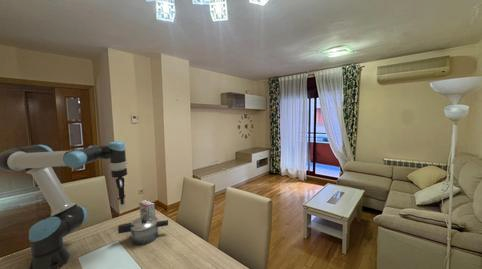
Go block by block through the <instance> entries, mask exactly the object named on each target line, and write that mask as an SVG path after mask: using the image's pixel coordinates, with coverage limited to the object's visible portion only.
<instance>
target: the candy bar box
mask: <svg viewBox="0 0 482 269" xmlns="http://www.w3.org/2000/svg"><path fill="white" fill-rule="evenodd" d="M138 204H139V214H140V218H141V217H144V216H155V217H156V209H155V208H156V207H155V206H156V205H155V203H154V202H151V201H149V200H146V199H143V200H141V201H139V202H138Z"/></svg>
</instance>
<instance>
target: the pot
mask: <svg viewBox="0 0 482 269" xmlns="http://www.w3.org/2000/svg"><path fill="white" fill-rule="evenodd" d="M166 226H169V220H167V219H166V220H161V221H159V220H158V222H157V224H156V225H155V226H154V227H152V228H150V229H148V230H145V231H140V232H135V231H132V230H130V228H129V229H124V230H120V231H118V234H125V233H130V238H131V244H132V245H133V246H136V247H142V246H143V247H144V246H146V245H149V244H151V243H153V242H154V241H155V240H156V239H158V236H159V228H161V227H166Z"/></svg>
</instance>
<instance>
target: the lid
mask: <svg viewBox="0 0 482 269" xmlns="http://www.w3.org/2000/svg"><path fill="white" fill-rule="evenodd" d="M157 222H159V220H158V217H156V215H155V216H144V217H141V216H140V217H138V218H136V219H134V220H133V221H131V222H128V223H122V224H119V225H118V226H117V230H118V231H120V230H124V229H129V228H130V230H132V231H135V232H140V231H145V230H148V229H150V228H152V227H154V226H155V225H156V224H157Z"/></svg>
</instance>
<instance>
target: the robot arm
mask: <svg viewBox="0 0 482 269" xmlns="http://www.w3.org/2000/svg"><path fill="white" fill-rule="evenodd" d="M126 156H127V155H126V145H125V142H124V141H121V140H117V141H111V142H108V145H98V144H96V145H90V146H88V147H87V148H82V149H77V150H76V149H75V150H74V149H73V150H57V151H54V150H53V149H52V148H51V147H49V146H48V145H44V144H32V145H27V146H21V147H15V148H10V149H7V150H4V151H2V152H1V153H0V170H2V171H4V172H20V171H24V172H25V173H26V174H28V175H31V176H32V177H33V180H34V181H35V183H36V185H37V186H38V188H39V190H40V191H41V193H42V195H43V197H44V198H45V199H46V200H45V201H47V202H46V203H47V204H48V205H49V206H50V208H51V210H52V214H50V215H51V216H49V217H47V218H45V219H41V220H40V221H39V220H38V222H36V223H34V224H33V225H32V226H31V227H30V228H29V231H28V240H29V244H30V250H31V256H32V257H31V261H30V264H29V267H28V269H56V268H58V267H60V266H62V265H63V264H64V265H65V264H67V262H69V260H70V258H69V257H70V252H69V251H68V249H67V248H66V247H65V245H64V238H65V237H66V236H68V235H69V234H70V233H73V231H75V230H76V229H79V228H80V227H81V226H82V225H83V224H84V223H85V222H86V221H87V219H88V211H87V210H86V208H85V207H84V206H82V205H78V204H77V203H76V202H72V201H71V199H70V197H69V196H68V193H67V192H66V189H64V186H63V185H62V183H61V181H60V179H59V178H58V176H57V174H56V172H55V171H54V169H53V168H55V167H67V168H71V169H72V168H73V169H74V168H79V167H82V166H85V165H87V164H89V163H93V162H97V161H99V160H105V159H106V160H109V164H110V170H111V171H110V174H111V177H112V178H115V183H116V188H117V193H118V194H117V196H118V198H117V200H118V203H119V210H120V211H121V210H124V209H126V199H125V198H126V194H125V176H127V175H128V168H127V167H128V166H127V164H128V161H127V157H126ZM68 259H69V260H68ZM64 265H63V266H64ZM63 266H62V267H63ZM60 268H61V267H60ZM58 269H59V268H58Z"/></svg>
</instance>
